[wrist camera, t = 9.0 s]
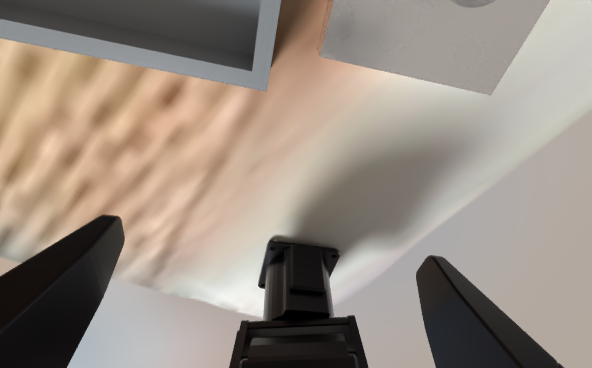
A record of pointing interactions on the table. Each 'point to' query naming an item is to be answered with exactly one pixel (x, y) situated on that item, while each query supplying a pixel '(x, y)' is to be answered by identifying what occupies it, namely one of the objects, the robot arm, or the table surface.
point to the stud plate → (431, 37)
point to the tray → (156, 34)
